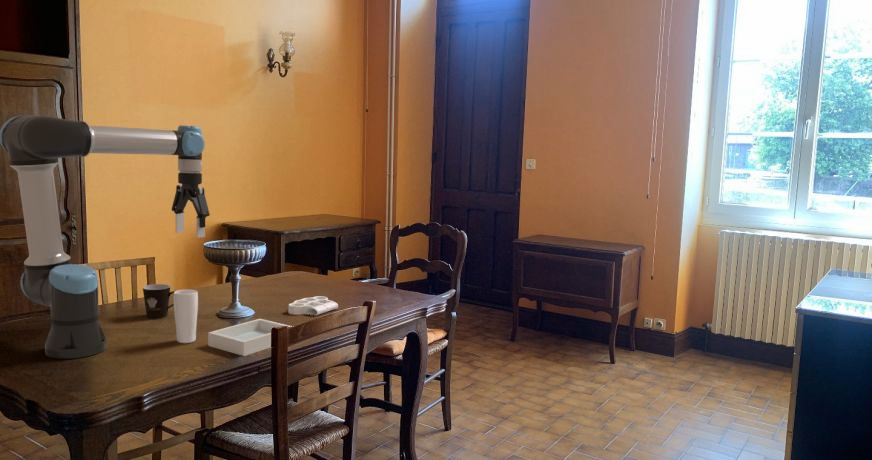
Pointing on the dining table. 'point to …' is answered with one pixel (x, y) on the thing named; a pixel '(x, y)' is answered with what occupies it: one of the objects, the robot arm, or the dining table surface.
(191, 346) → the dining table surface
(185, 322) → the drinking glass
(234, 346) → the white shallow tray
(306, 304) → the white flat molded slab
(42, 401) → the dining table surface
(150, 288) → the coffee mug
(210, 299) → the dining table surface
